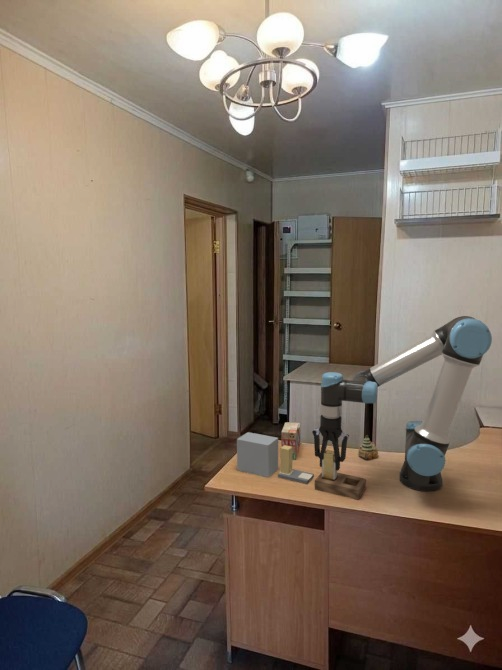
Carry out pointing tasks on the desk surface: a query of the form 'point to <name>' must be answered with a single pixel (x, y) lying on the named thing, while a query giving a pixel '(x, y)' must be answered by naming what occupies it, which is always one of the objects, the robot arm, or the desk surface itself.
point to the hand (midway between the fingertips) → (329, 476)
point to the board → (295, 476)
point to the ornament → (367, 449)
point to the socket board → (342, 485)
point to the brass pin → (328, 465)
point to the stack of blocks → (291, 437)
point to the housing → (257, 454)
